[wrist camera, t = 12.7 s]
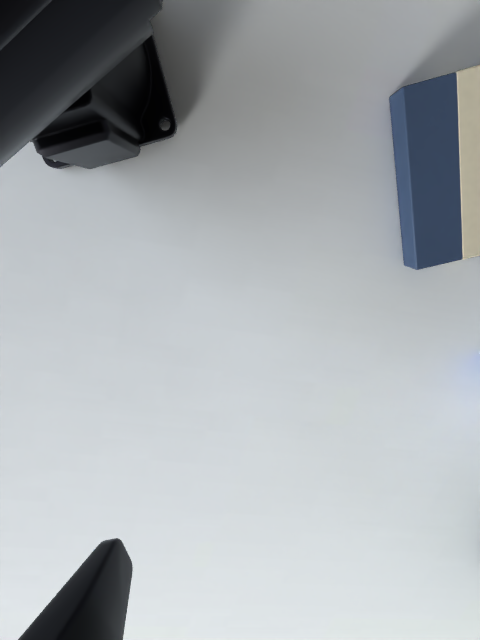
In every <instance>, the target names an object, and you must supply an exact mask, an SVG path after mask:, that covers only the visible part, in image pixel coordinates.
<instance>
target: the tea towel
mask: <svg viewBox="0 0 480 640" xmlns="http://www.w3.org/2000/svg"><path fill="white" fill-rule="evenodd" d="M389 101H390V112H391V123H392V135H393V146H394V157H395V168H396V180H397V191H398V202H399V214H400V225H401V236H402V248H403V259H404V265H405V266H408V267H410V268H413V269H416V270H418V269H423V268H427V267H431V266H435V265H440V264H444V263H448V262H452V261H457V260H461V259H467V258H472V257H476V256H480V65H477V66H473V67H470V68H466V69H462V70H459V71H456V72H454V73H450V74H447V75H443V76H440V77H436V78H432V79H429V80H425V81H422V82H418V83H414V84H411V85H407V86H404V87H402V88H401V89H399V90H398V91H397V92H395V93H394V94H393V95H391V96H390V98H389Z"/></svg>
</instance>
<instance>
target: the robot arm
mask: <svg viewBox="0 0 480 640" xmlns="http://www.w3.org/2000/svg"><path fill="white" fill-rule="evenodd" d="M162 2H163V0H0V167H1V166H2V165H3V164H4V163H6V162H7V161H8V160H9V159H10V158H11V157H12V156H14V155H15V154H16V153H17V152H18V151H19V150H20V149H22V148H23V147H24V146H25V145H26V144H27V143H28V142H33V143H34V146H35V148H36V151H37V153H39V154H40V155H42V157H43V159H44V161H45V163H46V164H47V165H48V166H50V167H53V168H57V169H62V168H65V167H69V166H73V165H76V166H80V167H84V168H87V169H92V168H96V167H99V166H103V165H107V164H110V163H114V162H117V161H121V160H125V159H128V158H132V157H135V156H138V154H139V152H140V150H141V149H140V146H144V145H147V144H151V143H154V142H158V141H161V140H165V139H169V138H171V137H173V136H174V135H175V134H176V132H177V122H176V118H175V114H174V111H173V107H172V103H171V100H170V96H169V92H168V88H167V85H166V81H165V77H164V74H163V70H162V66H161V62H160V59H159V55H158V51H157V48H156V44H155V40H154V37H153V33H154V32H153V29H152V25H151V23H150V21H149V20H150V19H151V18H153V17H154V16H155V15H156V14H157V13H158V12H159V11H161V10H162ZM165 120H168V121H170V128H169V129H168V130H167V131H164V130H162V128H161V124H162V122H163V121H165ZM54 160H56V162H54ZM131 578H132V562H131V559H130V557H129V555H128V553H127V551H126V549H125V547H124V545H123V543H122V541H121V540H120V539H118V538H116V539H110V540H105V541H103V542H101V543H100V544H99V545H98V546H97V548H96V549H95V550H94V551H93V552H92V553H91V555H90V556H89V557H88V558H87V559H86V560H85V562H84V563H83V564H82V565H81V566H80V568H79V569H78V570H77V571H76V572H75V573H74V575H73V576H72V577H71V578H70V579H69V580H68V582H67V583H66V584H65V585H64V586H63V587H62V589H61V590H60V591H59V592H58V593H57V595H56V596H55V597H54V598H53V599H52V600H51V602H50V603H49V604H48V605H47V606H46V607H45V609H44V610H43V611H42V612H41V613H40V615H39V616H38V617H37V618H36V619H35V620H34V622H33V623H32V624H31V625H30V626H29V627H28V629H27V630H26V631H25V632H24V633H23V634H22V636H21V637H20V638H19V639H18V640H123V634H124V627H125V620H126V613H127V606H128V599H129V592H130V585H131Z"/></svg>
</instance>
